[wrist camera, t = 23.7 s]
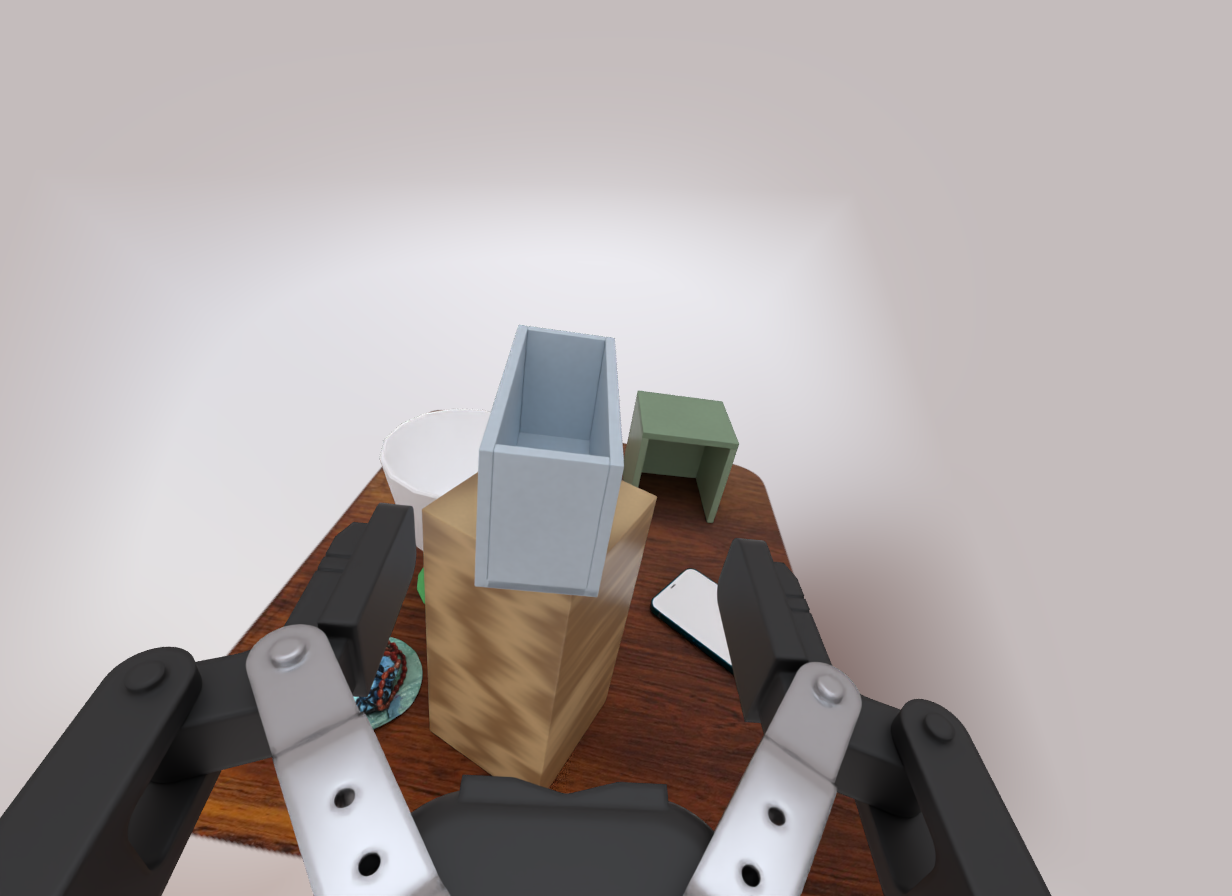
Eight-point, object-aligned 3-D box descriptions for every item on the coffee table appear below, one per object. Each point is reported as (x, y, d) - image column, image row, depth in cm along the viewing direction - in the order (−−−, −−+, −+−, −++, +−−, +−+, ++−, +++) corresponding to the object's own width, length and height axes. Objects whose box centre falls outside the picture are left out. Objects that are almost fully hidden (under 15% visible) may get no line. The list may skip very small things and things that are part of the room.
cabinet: (713, 523, 69) (739, 443, 63) (625, 513, 68) (643, 432, 62) (700, 475, 78) (722, 401, 72) (622, 466, 77) (637, 390, 70)
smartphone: (823, 664, 54) (688, 571, 61) (827, 658, 54) (690, 565, 61) (789, 720, 48) (644, 609, 56) (793, 714, 48) (646, 603, 55)
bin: (597, 597, 28) (624, 466, 23) (474, 587, 27) (478, 449, 23) (597, 444, 39) (615, 337, 35) (511, 433, 39) (518, 324, 34)
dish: (279, 652, 43) (360, 613, 42) (344, 646, 50) (416, 612, 49) (296, 761, 41) (384, 722, 40) (363, 740, 47) (440, 706, 46)
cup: (541, 541, 62) (555, 418, 53) (525, 645, 50) (540, 510, 42) (414, 527, 61) (408, 399, 52) (369, 631, 49) (351, 488, 41)
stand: (606, 700, 47) (657, 496, 35) (536, 808, 40) (572, 592, 28) (511, 641, 51) (529, 437, 39) (429, 730, 43) (421, 508, 31)
